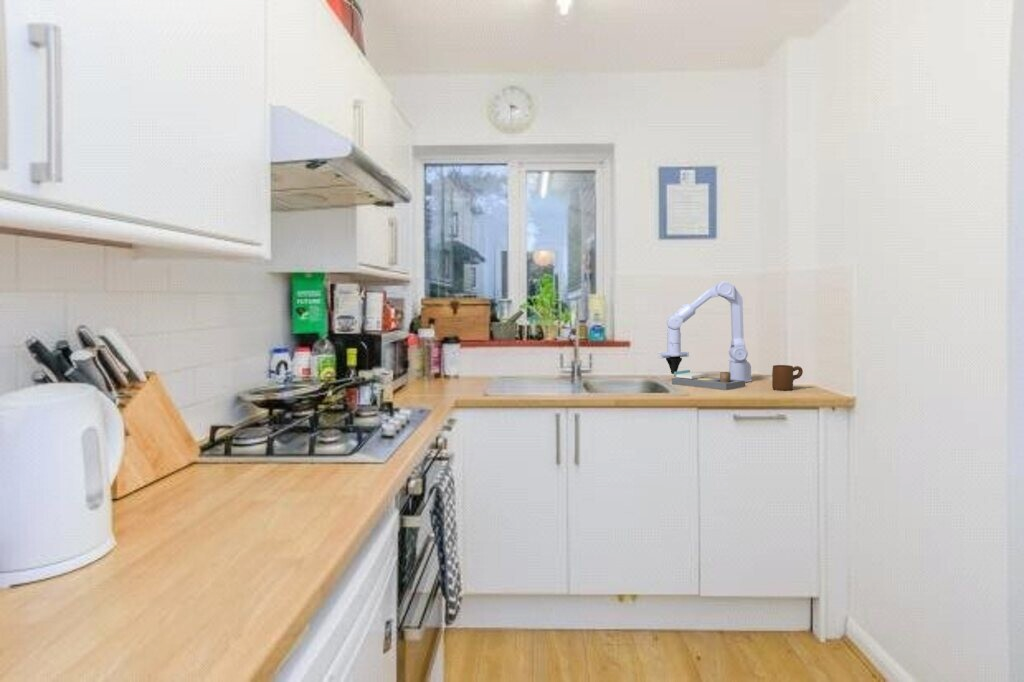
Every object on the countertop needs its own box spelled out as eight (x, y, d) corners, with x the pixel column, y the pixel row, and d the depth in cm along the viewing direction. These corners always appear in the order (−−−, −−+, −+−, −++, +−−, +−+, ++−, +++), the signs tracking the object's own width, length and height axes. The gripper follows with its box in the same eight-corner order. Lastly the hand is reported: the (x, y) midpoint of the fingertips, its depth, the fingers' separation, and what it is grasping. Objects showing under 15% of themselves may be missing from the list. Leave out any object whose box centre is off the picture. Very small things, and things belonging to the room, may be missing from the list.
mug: (797, 387, 257) (797, 364, 256) (807, 390, 250) (807, 366, 249) (768, 388, 256) (768, 365, 255) (778, 391, 248) (778, 367, 248)
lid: (687, 374, 282) (687, 369, 281) (705, 376, 275) (705, 371, 274) (673, 376, 275) (673, 371, 275) (691, 378, 268) (691, 373, 268)
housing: (691, 380, 283) (691, 375, 282) (745, 386, 263) (745, 380, 262) (672, 383, 274) (672, 377, 274) (726, 390, 254) (726, 383, 254)
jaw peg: (723, 386, 265) (723, 371, 264) (732, 387, 262) (732, 372, 261) (718, 387, 262) (718, 372, 262) (727, 388, 259) (727, 373, 259)
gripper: (665, 344, 274) (665, 375, 275) (693, 342, 279) (693, 373, 280) (655, 343, 281) (655, 374, 282) (683, 342, 286) (683, 372, 287)
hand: (673, 373), depth 281 cm, fingers closed
